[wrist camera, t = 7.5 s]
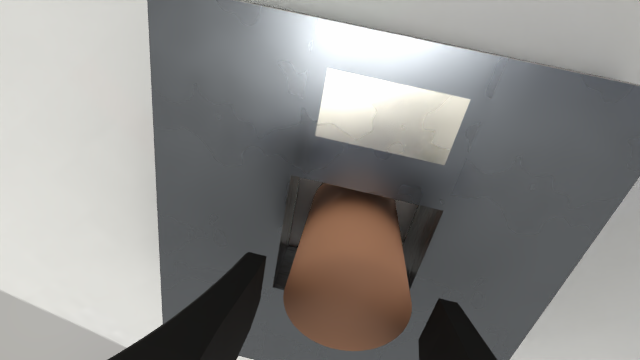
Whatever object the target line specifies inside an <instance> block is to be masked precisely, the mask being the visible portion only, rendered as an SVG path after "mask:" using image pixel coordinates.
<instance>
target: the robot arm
mask: <svg viewBox="0 0 640 360" xmlns="http://www.w3.org/2000/svg"><path fill="white" fill-rule="evenodd" d="M266 257H267V256H264V255H260V254H256V253H252V252H248V253H246V254H245V255H244V256H243V257H242V258H241V259H240V260H239V261H238V262H237V263H236V264H235V265H234V266H233V267H232V268H231V269H230V270H229V271H228V272H227V273H226V274H224V275H223V276H222V277H221V278H220V279H219V280H218V281H217V282H216V283H214V284H213V285H212V286H211V287H210V288H209V289H208V290H206V291H205V292H204V293H203V294H202V295H201V296H199V297H198V298H197V299H196V300H194V301H193V302H192V303H191V304H189V305H188V306H187V307H186V308H184V309H183V310H182V311H180V312H179V313H178V314H177V315H175V316H174V317H172V318H171V319H170V320H168V321H167V322H166V323H164V324H163V325H161V326H160V327H159V328H157V329H156V330H154V331H153V332H151V333H150V334H148V335H147V336H145V337H144V338H142V339H141V340H139V341H137V342H136V343H134V344H133V345H131V346H129V347H128V348H126V349H125V350H123V351H121V352H120V353H118V354H116V355H115V356H113V357H111V358H110V359H108V360H236V359H237V357H238V355H239V353H240V351H241V348H242V346H243V344H244V342H245V340H246V338H247V335H248V333H249V331H250V329H251V326H252V323H253V320H254V317H255V314H256V311H257V308H258V305H259V302H260V298H261V291H262V285H263V278H264V271H265V264H266ZM418 343H419V360H497V358H496V357H495V356H494V354H493V353H492V351H491V350H490V348H489V347H488V346H487V344H486V343H485V341H484V340H483V338H482V337H481V336H480V334H479V333H478V331H477V330H476V328H475V327H474V325H473V324H472V323H471V321H470V320H469V318H468V317H467V315H466V314H465V312H464V311H463V310H462V308H461V307H460V305H459V304H458V303H457V302H453V301H449V300H445V299H440V298H439V299H438V301H437V303H436V305H435V307H434V309H433V311H432V313H431V315H430V317H429V319H428V321H427V323H426V325H425V327H424V329H423V331H422V333H421V335H420V338H419V340H418Z"/></svg>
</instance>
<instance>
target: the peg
mask: <svg viewBox="0 0 640 360" xmlns="http://www.w3.org/2000/svg"><path fill="white" fill-rule="evenodd" d="M283 300H284V307H285V310H286V313H287V315H288V317H289V319H290V321H291V322H292V323H293V325H294V326H295V327H296V328H297V329H298V330H299V331H300V332H301V333H302V334H304V335H305V336H306V337H308V338H309V339H311V340H313V341H315V342H316V343H319V344H321V345H323V346H326V347H329V348H333V349H337V350H344V351H364V350H370V349H374V348H378V347H380V346H383V345H385V344H387V343H389V342H391V341H392V340H394V339H395V338H397V337H398V336H399V335H400V334H401V333H402V332H403V331H404V329H405V328H406V326H407V324H408V323H409V320H410V317H411V312H412V302H411V296H410V290H409V284H408V278H407V271H406V265H405V259H404V253H403V247H402V241H401V235H400V228H399V222H398V216H397V210H396V204H395V200H394V199H391V198H387V197H383V196H378V195H374V194H370V193H365V192H361V191H357V190H353V189H348V188H344V187H340V186H335V185H331V184H327V183H323V184H322V185H321V186H320V187H319V188H318V190H317V191H316V193H315V195H314V198H313V201H312V205H311V208H310V211H309V214H308V217H307V220H306V223H305V226H304V230H303V233H302V236H301V239H300V242H299V245H298V248H297V251H296V254H295V258H294V261H293V264H292V267H291V270H290V273H289V276H288V279H287V283H286V286H285V289H284V295H283Z"/></svg>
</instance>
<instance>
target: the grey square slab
mask: <svg viewBox="0 0 640 360" xmlns="http://www.w3.org/2000/svg"><path fill="white" fill-rule="evenodd" d="M147 1H148V22H149V43H150V64H151V85H152V106H153V127H154V148H155V169H156V190H157V211H158V232H159V253H160V274H161V295H162V316H163V324H164V323H166V322H167V321H168V320H170V319H171V318H172V317H174V316H175V315H177V314H178V313H179V312H180V311H182V310H183V309H184V308H186V307H187V306H188V305H189V304H191V303H192V302H193V301H194V300H196V299H197V298H198V297H199V296H201V295H202V294H203V293H204V292H205V291H206V290H208V289H209V288H210V287H211V286H212V285H213V284H214V283H216V282H217V281H218V280H219V279H220V278H221V277H222V276H223V275H224V274H226V273H227V272H228V271H229V270H230V269H231V268H232V267H233V266H234V265H235V264H236V263H237V262H238V261H239V260H240V259H241V258H242V257H243V256H244V255H245V254H246V253H248V252H252V253H256V254H260V255H264V256H267V257H266V264H265V271H264V278H263V285H262V291H261V298H260V302H259V305H258V308H257V311H256V314H255V317H254V320H253V323H252V326H251V329H250V331H249V333H248V335H247V338H246V340H245V342H244V344H243V346H242V348H241V351H240V353H239V355H238V356H242V357H246V358H250V359H254V360H419V343H418V340H419V338H420V335H421V333H422V331H423V329H424V327H425V325H426V323H427V321H428V319H429V317H430V315H431V313H432V311H433V309H434V307H435V305H436V303H437V301H438V299H439V298H440V299H445V300H449V301H453V302H457V303H458V304H459V305H460V307H461V308H462V310H463V311H464V312H465V314H466V315H467V317H468V318H469V320H470V321H471V323H472V324H473V325H474V327H475V328H476V330H477V331H478V333H479V334H480V336H481V337H482V338H483V340H484V341H485V343H486V344H487V346H488V347H489V348H490V350H491V351H492V353H493V354H494V356H495V357H496V358H497V360H509V359H510V358H511V357H512V355H513V354H514V352H515V351H516V349H517V348H518V347H519V345H520V344H521V342H522V341H523V340H524V338H525V337H526V335H527V334H528V333H529V331H530V330H531V328H532V327H533V326H534V324H535V323H536V321H537V320H538V319H539V317H540V316H541V314H542V313H543V311H544V310H545V309H546V307H547V306H548V304H549V303H550V302H551V300H552V299H553V297H554V296H555V295H556V293H557V292H558V290H559V289H560V288H561V286H562V285H563V283H564V282H565V281H566V279H567V278H568V276H569V275H570V273H571V272H572V271H573V269H574V268H575V266H576V265H577V264H578V262H579V261H580V259H581V258H582V257H583V255H584V254H585V252H586V251H587V250H588V248H589V247H590V245H591V244H592V243H593V241H594V240H595V238H596V237H597V236H598V234H599V233H600V231H601V230H602V228H603V227H604V226H605V224H606V223H607V221H608V220H609V219H610V217H611V216H612V214H613V213H614V212H615V210H616V209H617V207H618V206H619V205H620V203H621V202H622V200H623V199H624V198H625V196H626V195H627V193H628V192H629V190H630V189H631V188H632V186H633V185H634V183H635V182H636V181H637V179H638V178H639V176H640V85H637V84H633V83H628V82H624V81H620V80H615V79H610V78H605V77H601V76H596V75H591V74H586V73H582V72H577V71H572V70H568V69H563V68H558V67H553V66H549V65H544V64H539V63H534V62H530V61H525V60H520V59H515V58H511V57H506V56H501V55H497V54H492V53H487V52H482V51H478V50H473V49H468V48H463V47H459V46H454V45H449V44H445V43H440V42H435V41H430V40H426V39H421V38H416V37H411V36H407V35H402V34H397V33H393V32H388V31H383V30H378V29H374V28H369V27H364V26H359V25H355V24H350V23H345V22H341V21H336V20H331V19H326V18H322V17H317V16H312V15H307V14H303V13H298V12H293V11H289V10H284V9H279V8H274V7H270V6H265V5H260V4H255V3H251V2H246V1H241V0H147ZM300 177H301V178H305V179H310V180H314V181H318V182H322V183H327V184H331V185H335V186H340V187H344V188H348V189H353V190H357V191H361V192H365V193H370V194H374V195H378V196H383V197H387V198H391V199H396V200H400V201H404V202H408V203H413V204H417V205H418V208H417V210H416V213H415V216H414V218H413V221H412V223H411V226H410V229H409V231H408V234H407V237H406V239H405V242H404V244H403V253H404V259H405V265H406V271H407V278H408V284H409V290H410V296H411V302H412V312H411V317H410V320H409V323H408V324H407V326H406V328H405V329H404V331H403V332H402V333H401V334H400V335H399V336H398V337H397V338H395V339H394V340H392V341H391V342H389V343H387V344H385V345H383V346H380V347H378V348H374V349H370V350H364V351H344V350H337V349H333V348H329V347H326V346H323V345H321V344H319V343H316V342H315V341H313V340H311V339H309V338H308V337H306V336H305V335H304V334H302V333H301V332H300V331H299V330H298V329H297V328H296V327H295V326H294V325H293V323H292V322H291V321H290V319H289V317H288V315H287V313H286V310H285V307H284V300H283V295H284V289H285V286H286V283H287V279H288V276H289V273H290V270H291V267H292V264H293V261H294V258H295V254H296V251H297V248H295V247H291V246H288V242H289V237H290V231H291V226H292V220H293V214H294V209H295V203H296V198H297V192H298V186H299V181H300Z"/></svg>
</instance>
